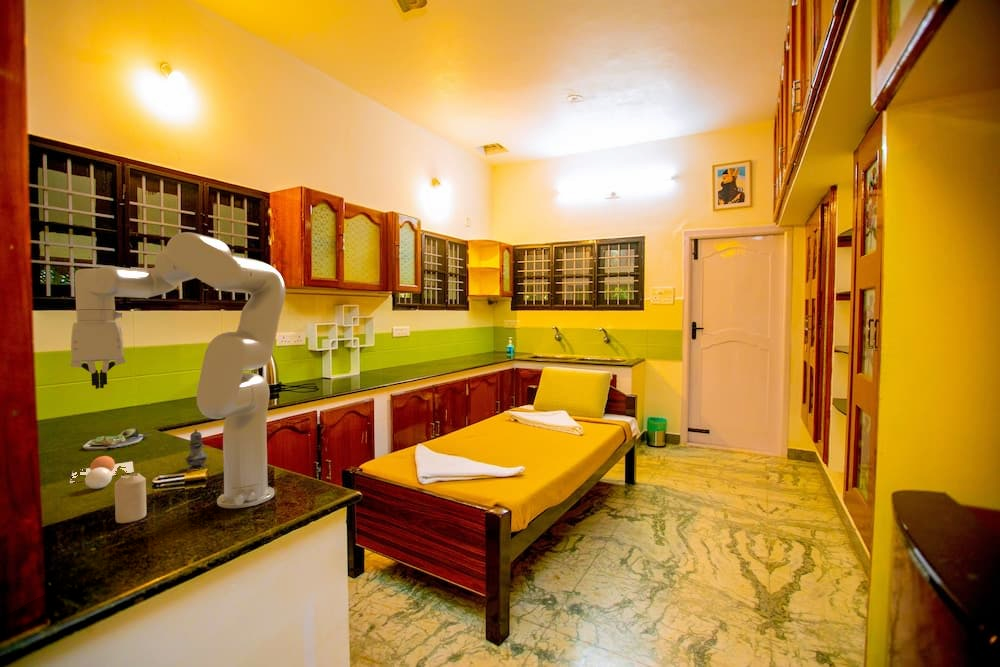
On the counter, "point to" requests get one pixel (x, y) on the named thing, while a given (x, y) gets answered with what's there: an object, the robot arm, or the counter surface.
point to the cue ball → (98, 478)
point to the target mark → (128, 468)
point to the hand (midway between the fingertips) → (99, 387)
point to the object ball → (103, 463)
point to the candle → (130, 498)
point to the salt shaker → (196, 452)
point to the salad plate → (116, 440)
